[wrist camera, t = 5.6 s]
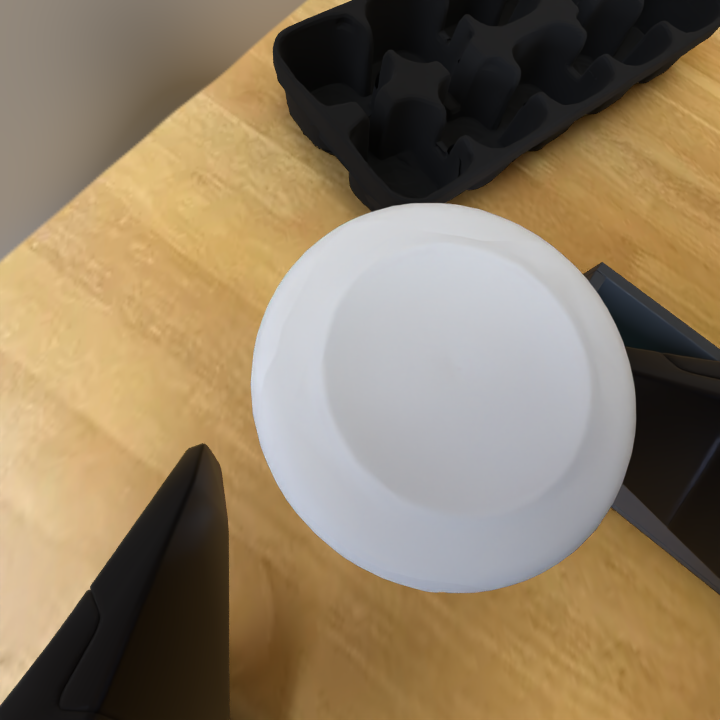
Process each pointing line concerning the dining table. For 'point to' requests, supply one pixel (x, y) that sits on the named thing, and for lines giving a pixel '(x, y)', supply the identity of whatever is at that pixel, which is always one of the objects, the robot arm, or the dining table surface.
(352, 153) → the egg carton
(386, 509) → the sprinkles bottle
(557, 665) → the dining table surface
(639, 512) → the rack
